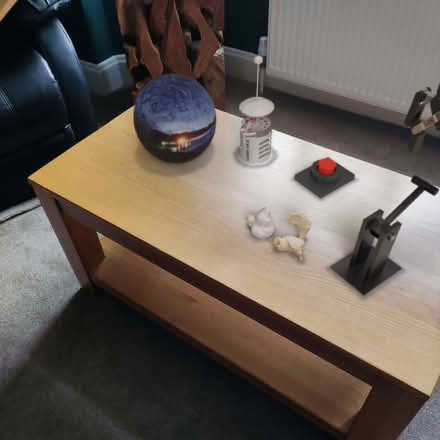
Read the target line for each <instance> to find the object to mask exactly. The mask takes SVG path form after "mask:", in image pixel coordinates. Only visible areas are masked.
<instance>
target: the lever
mask: <svg viewBox="0 0 440 440" xmlns="http://www.w3.org/2000/svg"><path fill="white" fill-rule="evenodd" d="M410 183H412V184H413V185H415V186H417V187H416V188H415V189H414V190H413V191H412V192H411V193H409V194H408V196H406V198H404V200H402V202H401V203H400V204H398V205H397V206H396V207H395V208H394V209H393V210H392V211H391V212H390V213H389V214H388V215H387V216H386V217H385V218H383V217H382V218H381V217H380V218H379V219H378V220H377V221H376V222H375V223H374V224H373V225H372V226H371V227H370V228H369V229H370V234H371V235H373V236H374V237H375V239H376V240H378V238H379V236H380V233H381V231H383V230H384V229H386V228H388V227H389V226H391V225H392V224H393V223H394V222H395V220H396V219H397V218H398V217H400V215H402V214H403V213H404V212H405V211H406V210H407V209H408V208H409V207H410V206H411V205H412V204H413V203H414V202H415V201H416V200H417V199H418V198H419V197H420V196H421V195H423V193H424V192H426V193H427V194H429V195H431V196H433V197H436V195H438V193H439V192H440V188H439V187H437V186H436V185H433V184H432V183H430V181H429V182H428V181H427V180H425V179H423V178H422V177H420V176H419V175H417V174H414V175H413V176H412V177H411V179H410Z"/></svg>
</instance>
